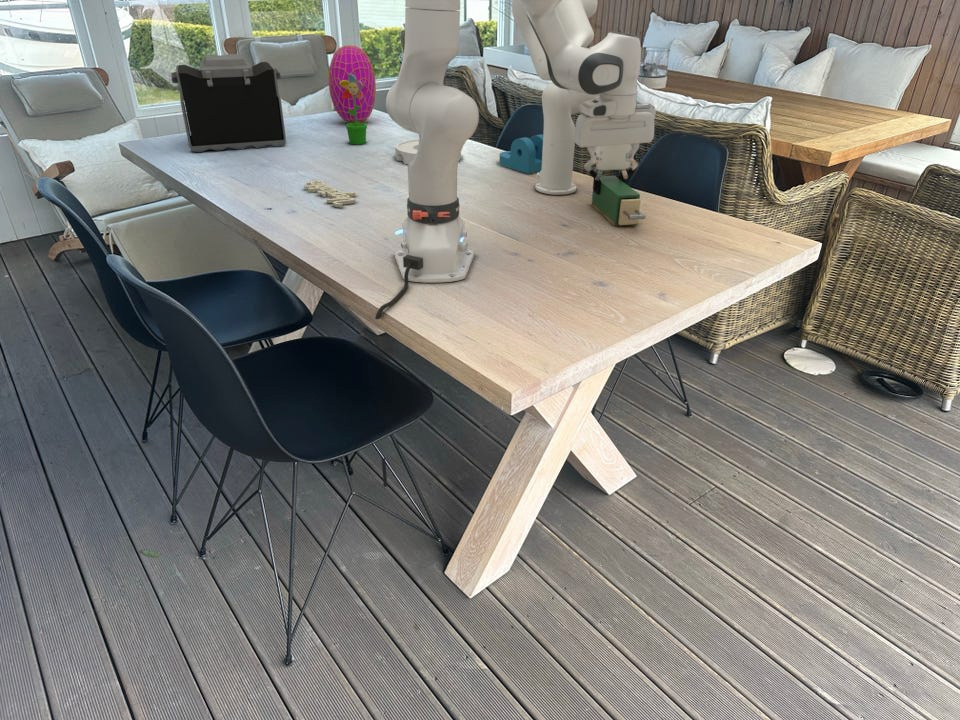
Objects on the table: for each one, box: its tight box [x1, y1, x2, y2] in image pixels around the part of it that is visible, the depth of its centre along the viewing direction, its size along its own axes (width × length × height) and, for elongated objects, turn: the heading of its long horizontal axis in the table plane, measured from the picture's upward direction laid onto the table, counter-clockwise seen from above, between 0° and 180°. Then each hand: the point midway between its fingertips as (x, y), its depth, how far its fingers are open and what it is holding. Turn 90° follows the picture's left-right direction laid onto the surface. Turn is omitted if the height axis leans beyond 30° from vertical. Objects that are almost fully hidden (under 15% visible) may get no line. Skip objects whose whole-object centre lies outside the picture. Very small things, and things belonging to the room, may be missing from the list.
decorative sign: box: [303, 179, 356, 208], centre depth 205 cm, size 26×1×10 cm
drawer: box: [618, 198, 647, 226], centre depth 186 cm, size 22×5×7 cm, turn 12°
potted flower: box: [339, 73, 368, 145], centre depth 255 cm, size 9×8×25 cm
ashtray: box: [394, 138, 462, 165], centre depth 243 cm, size 23×23×4 cm
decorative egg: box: [328, 44, 377, 124], centre depth 286 cm, size 19×19×30 cm
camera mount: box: [498, 133, 543, 175], centre depth 233 cm, size 18×10×10 cm, turn 39°
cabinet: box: [590, 175, 641, 227], centre depth 191 cm, size 18×6×8 cm, turn 12°
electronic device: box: [170, 53, 287, 153], centre depth 252 cm, size 37×22×30 cm, turn 111°
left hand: (611, 162), depth 174 cm, fingers open, 8 cm apart
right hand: (608, 191), depth 194 cm, fingers closed on cabinet, 6 cm apart
